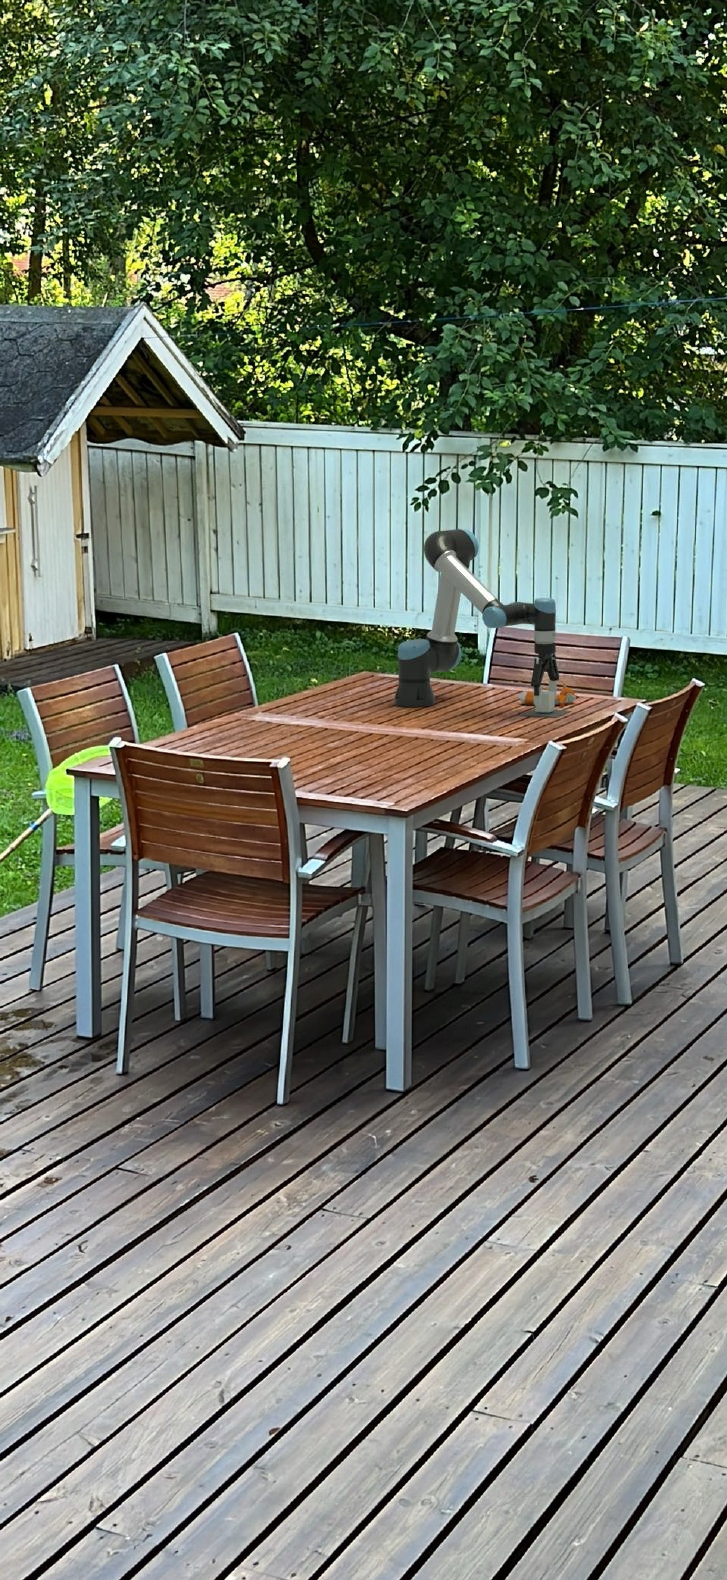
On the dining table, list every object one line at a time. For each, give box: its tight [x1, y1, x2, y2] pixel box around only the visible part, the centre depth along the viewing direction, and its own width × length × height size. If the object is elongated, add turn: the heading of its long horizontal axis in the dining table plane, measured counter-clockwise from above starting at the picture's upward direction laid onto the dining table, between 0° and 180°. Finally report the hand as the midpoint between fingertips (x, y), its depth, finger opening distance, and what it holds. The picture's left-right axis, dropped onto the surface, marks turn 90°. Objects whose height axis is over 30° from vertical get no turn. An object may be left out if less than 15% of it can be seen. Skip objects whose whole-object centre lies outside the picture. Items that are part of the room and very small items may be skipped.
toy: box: [516, 681, 578, 709], centre depth 657 cm, size 8×22×15 cm
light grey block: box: [534, 690, 556, 712], centre depth 638 cm, size 5×5×7 cm
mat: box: [518, 708, 572, 719], centre depth 639 cm, size 14×14×1 cm
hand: (545, 701), depth 638 cm, fingers open, 13 cm apart
